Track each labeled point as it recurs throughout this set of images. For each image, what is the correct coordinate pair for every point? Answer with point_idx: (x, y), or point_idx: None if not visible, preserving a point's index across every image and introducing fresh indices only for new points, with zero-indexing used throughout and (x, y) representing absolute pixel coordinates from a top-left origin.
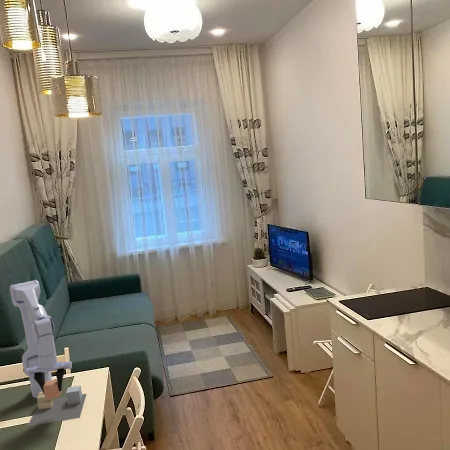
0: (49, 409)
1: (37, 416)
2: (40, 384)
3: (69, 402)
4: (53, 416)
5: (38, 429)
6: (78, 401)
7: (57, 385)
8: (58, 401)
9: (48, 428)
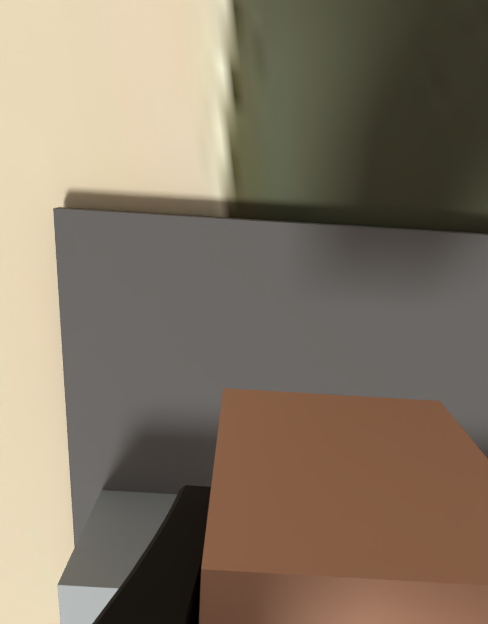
0: None
1: (461, 399)
2: None
3: None
4: (316, 339)
5: (441, 178)
6: (113, 499)
7: (203, 560)
8: None
9: (347, 157)
